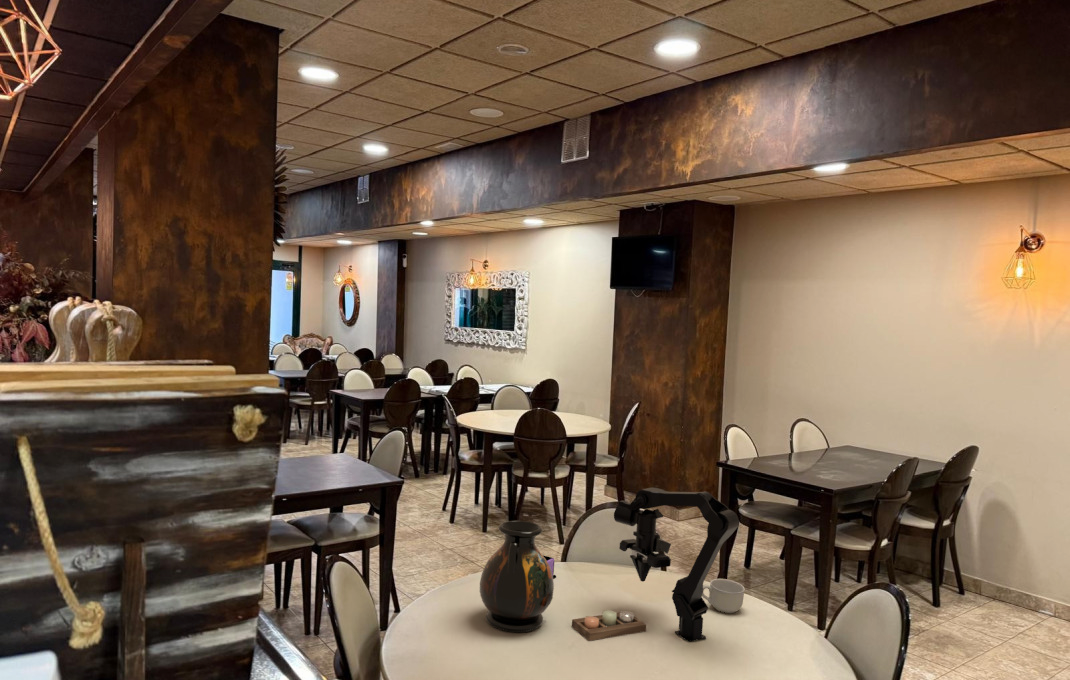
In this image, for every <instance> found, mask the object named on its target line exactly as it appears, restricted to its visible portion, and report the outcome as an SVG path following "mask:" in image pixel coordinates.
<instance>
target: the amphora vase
mask: <svg viewBox="0 0 1070 680" xmlns="http://www.w3.org/2000/svg"><path fill="white" fill-rule="evenodd" d="M497 529H498V531H499V532H501V533H502V534H503V535H504V541H503V543H502V545H501V546H499V548H498V549H497V550H496V551H495V552H494V553H492V555H491V556H490V557H489V558H488V560H487V562H486V563H485V566H484V567H483V570H482V573H481V576H480V581H479V594H480V595H479V596H480V597H481V601H482V603H483V605H484V606H485V608H486V609H487V610H488V611H487V613H486V615H485V616H486V620H487V622H488V623H489V624H490V626H492V627H494V628H495V629H498V630H500V631H504V632H509V633H526V632H530V631H533V630H536V629H538V628H539V627H540V626H541V625H542V624H543V621H544V616H543V613H545V611H546V610H547V609H548V607H549V606H550V605H551V603H552V601H553V599H554V597H553V596H554V589H555V584H554V579H553V575H554V574H553V575H552V571H551V569H550V566H549V564H548V562H547V561H546V559H545V558H544V556H545V555H544V556H543V554H542V553H541V552H540V550H539V549H538V548H537V545H536V543H535V542H536V541H535V540H536V536H539V535H541V534H542V533H543V527H542V526H541V525H540V524H538V523H536V522H531V521H527V520H526V521H525V520H507V521H504V522H501V523H500V524H499V525H498V527H497Z"/></svg>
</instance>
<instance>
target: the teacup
mask: <svg viewBox="0 0 1070 680" xmlns="http://www.w3.org/2000/svg"><path fill="white" fill-rule="evenodd" d="M709 584H710V585H709ZM709 584H703V593H702V598H703V599H704V600H706V601H707V602H708V603H709V604H710V605H712V606H713V608H714V609H715V610H716V611H718V612H720V611H721V613H724V612H725V613H726V614H733V613H736V612H737V611H739V610H741V608H743V607H742V606H743V604H744V603H743V602H744V596H745V591H746V589H745V587H744V585H742V584H741V583H740V582H737V581H735V580H731V579H726V578H715V579H712V580H710V582H709ZM706 589H707V590H708V593H709V594H708V596H709V597H708V596H707V595H705V593H704V591H705V590H706ZM725 613H724V614H725Z"/></svg>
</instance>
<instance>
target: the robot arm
mask: <svg viewBox="0 0 1070 680" xmlns="http://www.w3.org/2000/svg"><path fill="white" fill-rule="evenodd" d="M662 506H671V507H672V506H673V507H674V506H675V507H697V508H698V510H699V511H700V513H701V515H702V517H703V519H704V520H705V521H706V522H707V523H708V524H707V529H706V531H707V534H706V535H707V536H706V539H705V540H704V543H703V545H702V547H701V549H700V551H699V553H698V555H697V558H696V559H695V561H694V564H693V565H692V567H691V569H690V571H689V573H688V575H687V576H684V577H682V578H679V579H678V580H676V583H675V586H674V588H673V590H671V593H672V596H671V599H672V601H673V605H674V606H675V607H674V608H675V612H676V615H677V617H679V620H678V622H679V623H678V630H675V631H674V633H675V634H676V635H678V636H679V637H681V638H682V639H683V640H685V641H687V642H689V643H691V642H696V641H702V640H706V639H707V636H706V635H704V634H703V627H704V625H703V623H704V617H703V616H702V615H704V614H707V612H708V610H709V607H708V604H707V603H706V602H705V599H704V598H703V597H702V593H704V591H703V585H704V582H705V579H707V576H708V574H709V572H710V571H711V568H712V566H713V565H714V562H715V560H716V559H717V557H718V554H719V553H720V550H721V548H722V546H723V545H724V543H725V542H726V541H727V540H728V539H729V538H730V537H731V536H732V535H733V533H734V532H735V531H736V530H737V529H738V527H739V525H740V519H739V517H738V515H737V513H736V512H735V511H733V510H731V509H730V508H729V507H728V506H727V505H726V504H724V503H723V502H722V501H720V500H718V499H717V498H715V497H714V495H712V494H711V493H710V492H709V491H699V492H698V491H667V490H665V489H662V488H658V487H648V488H643V489H640V490H638V491H637V492H636V494H635V498H634V499H633V500H632V501H631V502H628V501H627V500H619V501H618V505H617V506H616V507H615V510H614V512H613V519H614V521H615V522H616V523H620V524H623V525H626V526H630V527H634V526H636V530H635V531H633V533H632V534H633V536H635V538H630V539H629V538H628V539H622V540H621V541H620V542H619V550H621V551H622V552H627V550H628V549H629V550H631V555H629V558H630V559H631V560H632V561H631V562H632V563H633V565H634V568H635V571H636V573H637V575H638V578H639V581H640V582H642V583H643V582H645V581H646V579H647V576H648V575H649V573H650V570H651V568H656V569H658V568H659V569H660V568H668V567H671V565H672V558H670V556H668V554H669V551H670V548H671V546H672V543H670V542H668V541H666V540H664V539H662V538H661V536H660V534H658V533H656V532H657V531H656V529H657V520H658V519H661V518H663V517H664V515H663V513H662V512H661V511H660V509H658V508H657V507H662ZM652 508H656V509H652ZM660 551H661V552H660ZM662 552H664V553H662ZM666 554H667V555H666Z"/></svg>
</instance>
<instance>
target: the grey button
mask: <svg viewBox="0 0 1070 680" xmlns="http://www.w3.org/2000/svg"><path fill="white" fill-rule="evenodd" d="M619 612H620V619H619V621H621V622H622V623H624V624H626V623H632V622H633V616H634V613H633V612H631V611H628V610H622V611H619ZM634 617H635V616H634Z"/></svg>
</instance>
